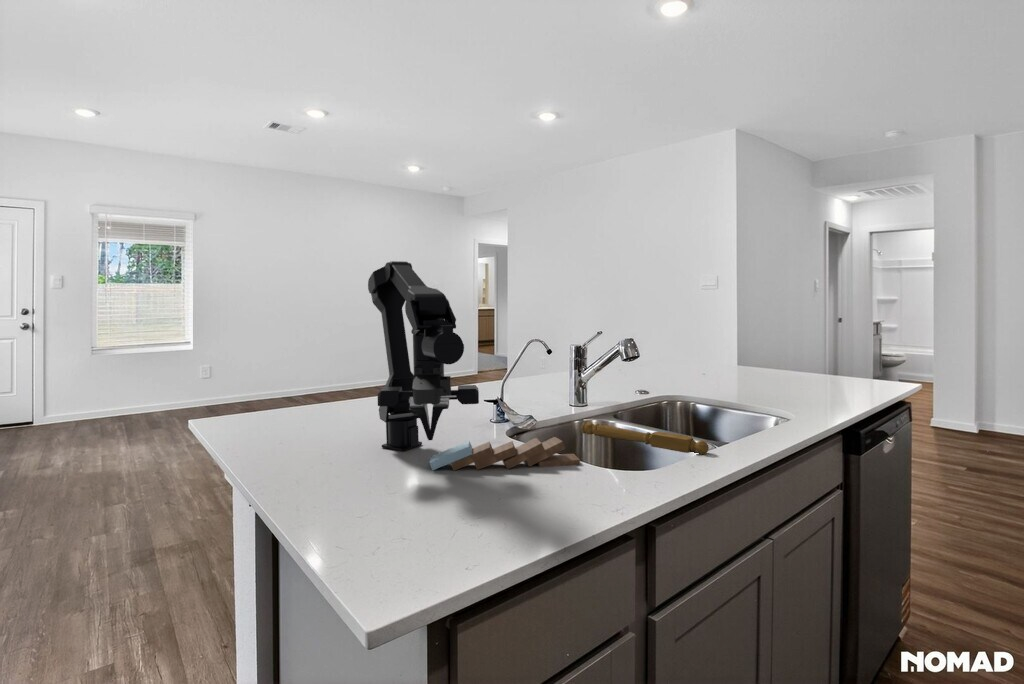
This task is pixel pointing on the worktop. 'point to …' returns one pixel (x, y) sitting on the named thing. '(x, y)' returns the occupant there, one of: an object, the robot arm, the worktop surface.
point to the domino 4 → (524, 452)
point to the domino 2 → (474, 456)
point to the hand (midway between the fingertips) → (430, 439)
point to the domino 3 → (497, 455)
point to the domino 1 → (451, 455)
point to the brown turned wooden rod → (648, 438)
